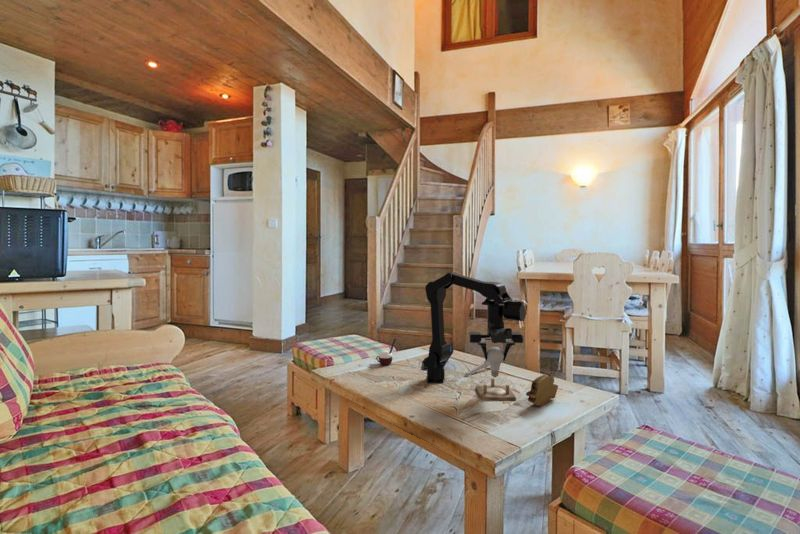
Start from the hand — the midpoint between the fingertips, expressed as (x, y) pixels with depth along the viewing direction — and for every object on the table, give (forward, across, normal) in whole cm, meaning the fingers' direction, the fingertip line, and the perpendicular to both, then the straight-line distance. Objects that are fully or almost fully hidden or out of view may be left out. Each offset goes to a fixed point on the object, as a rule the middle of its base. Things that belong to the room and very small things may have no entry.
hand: (494, 360), depth 153 cm
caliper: (+13, -1, +27) cm, 30 cm away
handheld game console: (+13, -18, +36) cm, 42 cm away
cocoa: (+13, -42, +37) cm, 57 cm away
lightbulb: (+6, 0, 0) cm, 6 cm away
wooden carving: (+12, +14, -9) cm, 21 cm away
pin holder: (+12, 0, 0) cm, 12 cm away
